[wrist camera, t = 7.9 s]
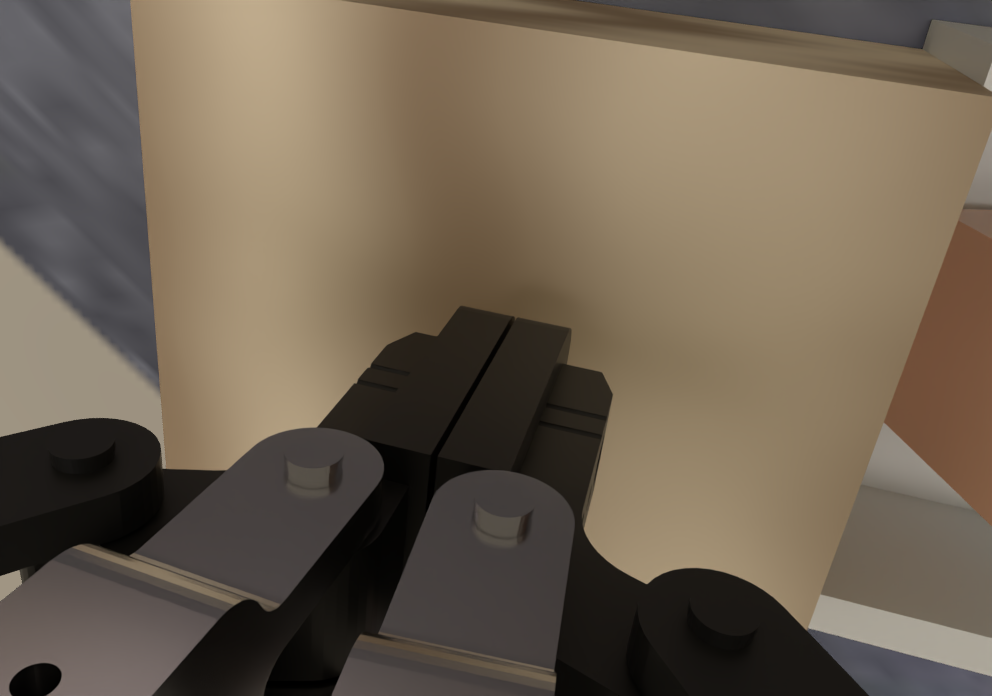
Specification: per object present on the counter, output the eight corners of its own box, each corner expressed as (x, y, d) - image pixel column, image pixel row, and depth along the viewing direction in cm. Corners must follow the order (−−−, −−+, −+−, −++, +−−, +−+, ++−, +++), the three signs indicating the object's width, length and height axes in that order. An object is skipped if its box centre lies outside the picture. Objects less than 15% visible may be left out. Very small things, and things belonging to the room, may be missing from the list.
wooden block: (922, 49, 15) (1003, 98, 10) (788, 468, 19) (802, 643, 14) (299, -39, 17) (128, -31, 13) (297, 354, 21) (166, 473, 17)
